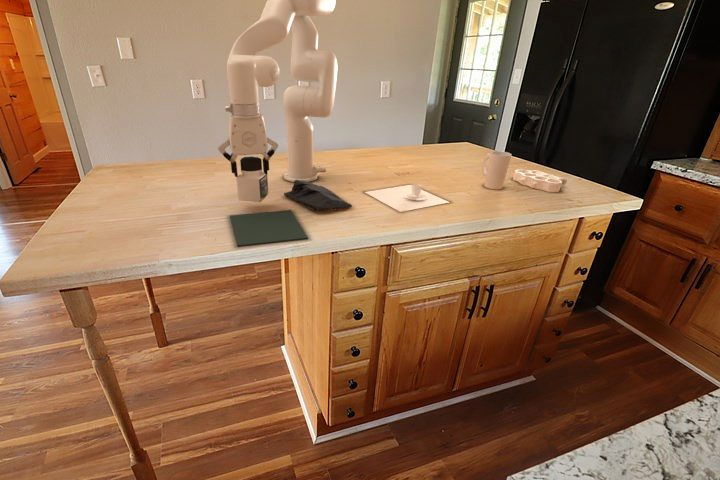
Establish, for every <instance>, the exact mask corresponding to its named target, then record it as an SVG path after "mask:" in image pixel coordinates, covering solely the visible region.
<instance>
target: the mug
mask: <svg viewBox="0 0 720 480" xmlns="http://www.w3.org/2000/svg"><path fill="white" fill-rule="evenodd" d="M511 159H512V153H510V152H508V151H501V150H494V151H491V152H487V153H486V156H485V157H484V158H483V161H482V165H481V166H482V176H483V177H484V184H483V186H484V188H487V189H490V190H501V189H503V187H504V183H505V180H506V177H507V172H508V169H509V166H510V163H511ZM487 161H488V162H487ZM487 163H488V164H487ZM486 165H487V166H486ZM486 167H487V168H486Z"/></svg>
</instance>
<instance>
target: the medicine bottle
mask: <svg viewBox="0 0 720 480" xmlns="http://www.w3.org/2000/svg"><path fill="white" fill-rule="evenodd" d="M239 165H240V174H238V176H237V177H235V179H236V180H235V181H236V189H237V199H238V201H239V202H240V201H242V202H253V203H254V202H255V203H261V202H262V201H264V200H265V199H266V198H267V197H268V196H269V182H268V181H269V180H268V174H265V173H264V171H263V160H262V159H261V157H259V156H257V155H256V156H255V155H249V156H248V155H246V156H243V157H241V158H240V160H239Z"/></svg>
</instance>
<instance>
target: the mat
mask: <svg viewBox="0 0 720 480" xmlns="http://www.w3.org/2000/svg"><path fill="white" fill-rule="evenodd" d="M229 218H230V222H231V227H232V230H233V234H234V235H233V236H234V238H235V242H236V246H237V248H239V247H247V246H258V245H264V244H274V243H285V242H293V241H301V240H308V239H309V237H308V236H307V234H306V232H305V230H304V229H303V227H302V226H301V224H300V223H299V221H298V219H297V218H296V216H295V214H294V213H293V211H292V210H291V209H288V210H287V209H286V210H275V211H274V210H273V211H264V212H253V213H243V214H242V213H241V214H231V215H229Z"/></svg>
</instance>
